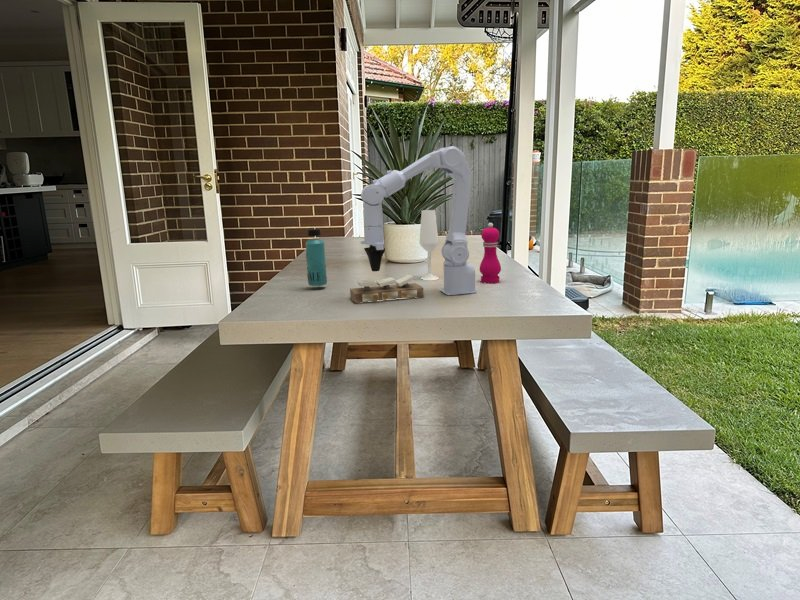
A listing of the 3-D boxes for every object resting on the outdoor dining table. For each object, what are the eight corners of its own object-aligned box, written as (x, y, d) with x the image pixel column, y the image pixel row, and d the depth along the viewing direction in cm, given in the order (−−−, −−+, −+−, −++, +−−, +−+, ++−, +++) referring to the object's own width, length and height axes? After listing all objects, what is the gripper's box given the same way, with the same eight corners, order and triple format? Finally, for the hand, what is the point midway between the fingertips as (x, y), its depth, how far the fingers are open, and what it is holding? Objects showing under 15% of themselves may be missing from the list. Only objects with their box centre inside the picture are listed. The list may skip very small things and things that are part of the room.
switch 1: (373, 283, 168) (373, 280, 168) (376, 286, 164) (376, 283, 164) (357, 283, 167) (357, 280, 166) (360, 286, 163) (360, 283, 162)
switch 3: (410, 277, 171) (409, 274, 171) (414, 279, 167) (413, 276, 166) (396, 283, 170) (394, 281, 170) (399, 286, 166) (398, 283, 166)
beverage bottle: (325, 285, 189) (322, 227, 184) (329, 289, 183) (325, 229, 178) (306, 287, 187) (302, 228, 182) (309, 291, 181) (305, 230, 176)
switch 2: (392, 280, 169) (391, 277, 169) (395, 282, 165) (395, 279, 165) (376, 284, 168) (376, 281, 168) (380, 286, 164) (379, 283, 164)
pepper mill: (479, 279, 191) (479, 221, 187) (500, 279, 190) (501, 221, 186) (479, 283, 184) (479, 223, 180) (501, 283, 183) (502, 223, 179)
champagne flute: (433, 280, 192) (432, 211, 186) (416, 279, 195) (415, 211, 190) (442, 277, 197) (441, 209, 192) (425, 276, 201) (424, 209, 195)
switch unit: (415, 292, 174) (415, 279, 173) (424, 297, 166) (423, 284, 165) (350, 298, 169) (349, 284, 168) (355, 304, 161) (355, 290, 160)
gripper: (355, 224, 169) (357, 268, 172) (365, 228, 155) (368, 276, 158) (377, 223, 171) (379, 266, 174) (389, 227, 157) (391, 274, 160)
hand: (375, 270), depth 166 cm, fingers closed
